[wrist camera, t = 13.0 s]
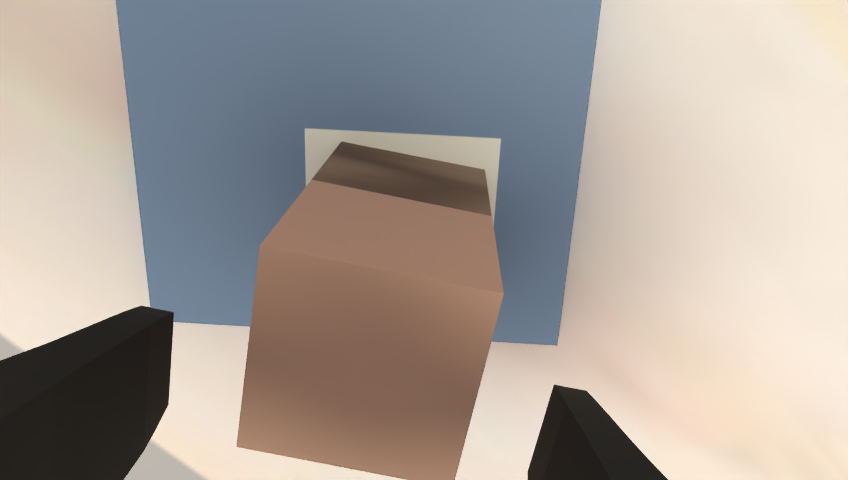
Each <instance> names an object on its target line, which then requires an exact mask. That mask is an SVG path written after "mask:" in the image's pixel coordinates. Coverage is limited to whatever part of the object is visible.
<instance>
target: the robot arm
mask: <svg viewBox="0 0 848 480" xmlns="http://www.w3.org/2000/svg"><path fill="white" fill-rule="evenodd" d="M173 318H174V312H171V311H166V310H160V309H155V308H150V307H145V306H140V307H136V308H133V309H130V310H128V311H125V312H122V313H120V314H117V315H115V316H112V317H110V318H107V319H105V320H103V321H100V322H98V323H96V324H93V325H91V326H88V327H86V328H84V329H81V330H79V331H76V332H74V333H71V334H69V335H66V336H64V337H62V338H59V339H57V340H54V341H52V342H49V343H47V344H44V345H42V346H39V347H36V348H34V349H31V350H28V351H25V352H23V353H20V354H17V355H14V356H12V357H9V358H6V359H4V360H1V361H0V480H124V478H125V477H126V475H127V474H128V473H129V471H130V470H131V468H132V467H133V465H134V464H135V463H136V461H137V460H138V458H139V457H140V455H141V454H142V453H143V451H144V450H145V448H146V446H147V444H148V442H149V440H150V439H151V437H152V435H153V433H154V431H155V429H156V428H157V426H158V424H159V422H160V420H161V418H162V416H163V414H164V412H165V410H166V408H167V406H168V400H169V384H170V368H171V351H172V335H173ZM528 480H668V479H667V478H666V477H665V476H664V475H663V474H662V473H661V472H660V471H659V470H658V469H657V468H656V467H655V466H654V465H653V464H652V463H651V462H650V461H649V460H648V458H647V457H646V456H645V455H644V454H643V453H642V452H641V451H640V450H639V449H638V448H637V446H636V445H635V444H634V443H633V442H632V441H631V440H630V439H629V438H628V436H627V435H626V434H625V433H624V432H623V431H622V430H621V429H620V427H619V426H618V425H617V424H616V423H615V422H614V421H613V419H612V418H611V417H610V416H609V415H608V414H607V413H606V412H605V410H604V409H603V408H602V407H601V406H600V405H599V404H598V403H597V401H596V400H595V399H594V398H593V397H592V396H591V395H590V394H589V393H588V392H587V391H584V390H579V389H574V388H569V387H563V386H558V385H554V387H553V390H552V394H551V397H550V400H549V404H548V407H547V410H546V413H545V417H544V420H543V423H542V427H541V430H540V433H539V437H538V440H537V443H536V446H535V450H534V453H533V456H532V460H531V463H530V466H529V470H528Z"/></svg>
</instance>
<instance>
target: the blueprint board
mask: <svg viewBox="0 0 848 480" xmlns="http://www.w3.org/2000/svg"><path fill="white" fill-rule="evenodd" d="M116 6H117V14H118V23H119V32H120V41H121V50H122V59H123V67H124V76H125V85H126V94H127V103H128V112H129V121H130V129H131V138H132V147H133V156H134V165H135V174H136V182H137V191H138V200H139V209H140V218H141V227H142V235H143V244H144V253H145V262H146V271H147V280H148V288H149V297H150V306H151V308H155V309H160V310H166V311H171V312H174V318H173V322H185V323H201V324H217V325H234V326H251V317H252V309H253V300H254V291H255V283H256V274H257V265H258V257H259V248H260V244H261V243H262V242H263V241H264V239H265V238H266V237H267V236H268V234H269V233H270V232H271V230H272V229H273V228H274V227H275V225H276V224H277V223H278V222H279V220H280V219H281V218H282V217H283V215H284V214H285V213H286V211H287V210H288V209H289V208H290V206H291V205H292V204H293V203H294V201H295V200H296V199H297V197H298V196H299V195H300V194H301V192H302V191H303V190H304V189H305V187H306V186H307V185H308V184H309V182H310V181H311V179H312V178H313V177H314V176H315V174H316V173H317V172H318V170H319V169H320V168H321V167H322V165H323V164H324V163H325V162H326V160H327V159H328V158H329V157H330V155H331V154H332V153H333V151H334V150H335V149H336V148H337V146H338V145H339V144H340V143H341V141H342V142H347V143H352V144H357V145H362V146H367V147H372V148H377V149H383V150H388V151H393V152H398V153H403V154H408V155H413V156H418V157H423V158H428V159H433V160H438V161H443V162H449V163H454V164H459V165H464V166H469V167H474V168H479V169H484V170H485V174H486V180H487V187H488V194H489V201H490V207H491V214H492V219H493V226H494V232H495V239H496V246H497V253H498V259H499V266H500V273H501V279H502V286H503V293H504V295H503V299H502V302H501V306H500V310H499V314H498V318H497V321H496V325H495V329H494V333H493V337H492V340H491V341H494V342H510V343H526V344H543V345H557V344H558V336H559V328H560V320H561V312H562V305H563V297H564V289H565V281H566V273H567V266H568V258H569V250H570V242H571V234H572V227H573V219H574V211H575V203H576V195H577V188H578V180H579V172H580V164H581V156H582V149H583V141H584V133H585V125H586V117H587V109H588V102H589V94H590V86H591V78H592V70H593V63H594V55H595V47H596V39H597V31H598V24H599V16H600V8H601V0H116Z"/></svg>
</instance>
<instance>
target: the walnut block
mask: <svg viewBox="0 0 848 480" xmlns="http://www.w3.org/2000/svg"><path fill="white" fill-rule="evenodd" d="M311 180H316V181H321V182H326V183H331V184H336V185H341V186H345V187H350V188H355V189H360V190H365V191H370V192H375V193H380V194H385V195H390V196H395V197H400V198H405V199H410V200H415V201H420V202H425V203H429V204H434V205H439V206H444V207H449V208H454V209H459V210H464V211H469V212H474V213H479V214H484V215H489V216H492V214H491V207H490V201H489V194H488V187H487V180H486V174H485V170H484V169H479V168H474V167H469V166H464V165H459V164H454V163H449V162H443V161H438V160H433V159H428V158H423V157H418V156H413V155H408V154H403V153H398V152H393V151H388V150H383V149H377V148H372V147H367V146H362V145H357V144H352V143H347V142H342V141H341V143H340V144H339V145H338V146H337V148H336V149H335V150H334V151H333V153H332V154H331V155H330V157H329V158H328V159H327V160H326V162H325V163H324V164H323V165H322V167H321V168H320V169H319V170H318V172H317V173H316V174H315V176H314V177H313V178H312V179H311Z"/></svg>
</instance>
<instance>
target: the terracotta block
mask: <svg viewBox="0 0 848 480" xmlns="http://www.w3.org/2000/svg"><path fill="white" fill-rule="evenodd" d="M503 295H504V293H503V286H502V279H501V273H500V266H499V259H498V253H497V246H496V239H495V232H494V226H493V219H492V216H489V215H484V214H479V213H474V212H469V211H464V210H459V209H454V208H449V207H444V206H439V205H434V204H429V203H425V202H420V201H415V200H410V199H405V198H400V197H395V196H390V195H385V194H380V193H375V192H370V191H365V190H360V189H355V188H350V187H345V186H341V185H336V184H331V183H326V182H321V181H316V180H311V181H310V182H309V184H308V185H307V186H306V187H305V189H304V190H303V191H302V192H301V194H300V195H299V196H298V197H297V199H296V200H295V201H294V203H293V204H292V205H291V206H290V208H289V209H288V210H287V211H286V213H285V214H284V215H283V217H282V218H281V219H280V220H279V222H278V223H277V224H276V225H275V227H274V228H273V229H272V230H271V232H270V233H269V234H268V236H267V237H266V238H265V239H264V241H263V242H262V243H261V244H260V248H259V257H258V265H257V274H256V283H255V291H254V300H253V309H252V317H251V326H250V335H249V343H248V352H247V361H246V369H245V378H244V387H243V395H242V404H241V413H240V421H239V430H238V439H237V447H241V448H246V449H251V450H256V451H262V452H267V453H272V454H277V455H282V456H287V457H293V458H298V459H303V460H308V461H313V462H319V463H324V464H329V465H334V466H339V467H345V468H350V469H355V470H360V471H365V472H370V473H376V474H381V475H386V476H391V477H396V478H402V479H407V480H455V477H456V473H457V469H458V465H459V462H460V458H461V454H462V450H463V446H464V443H465V439H466V435H467V431H468V427H469V424H470V420H471V416H472V412H473V409H474V405H475V401H476V397H477V393H478V390H479V386H480V382H481V378H482V374H483V371H484V367H485V363H486V359H487V355H488V352H489V348H490V344H491V340H492V337H493V333H494V329H495V325H496V321H497V318H498V314H499V310H500V306H501V302H502V299H503Z"/></svg>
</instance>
